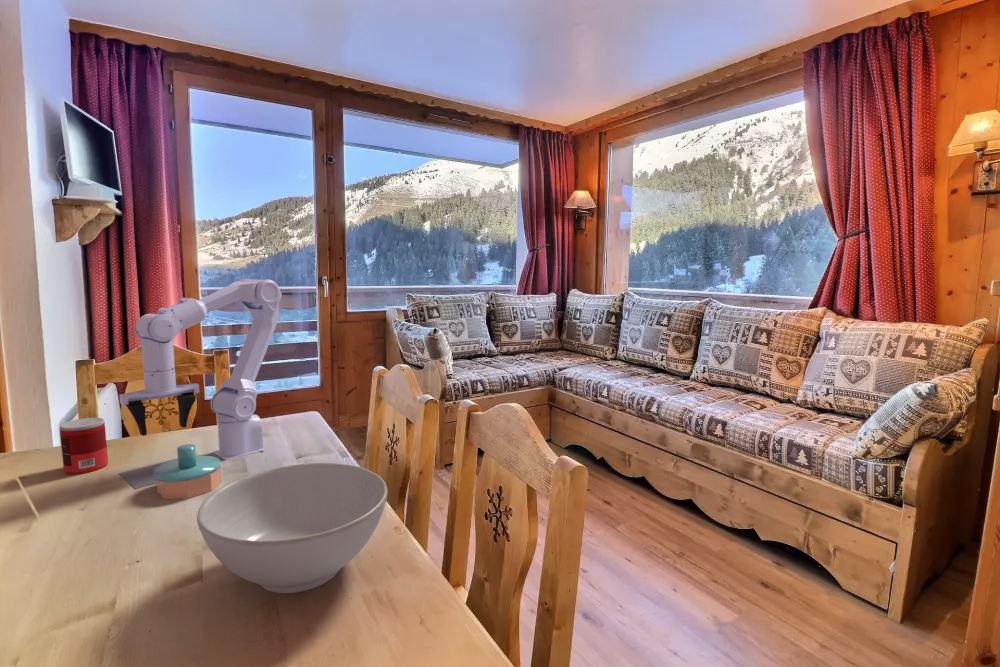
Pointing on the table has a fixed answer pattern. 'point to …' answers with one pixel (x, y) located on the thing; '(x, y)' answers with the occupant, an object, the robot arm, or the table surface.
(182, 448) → the lid
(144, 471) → the mat
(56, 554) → the table surface
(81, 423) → the canned food
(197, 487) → the ramekin
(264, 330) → the robot arm
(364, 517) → the decorative bowl
